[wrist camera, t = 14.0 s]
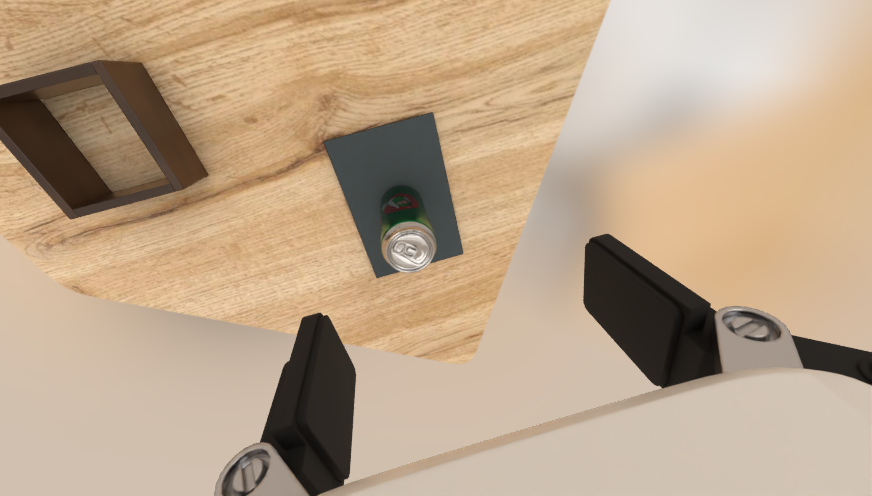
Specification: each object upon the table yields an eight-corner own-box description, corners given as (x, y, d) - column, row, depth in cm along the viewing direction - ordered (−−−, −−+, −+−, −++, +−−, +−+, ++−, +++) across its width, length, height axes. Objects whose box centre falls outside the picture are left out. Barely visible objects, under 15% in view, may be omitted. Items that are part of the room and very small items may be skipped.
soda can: (411, 229, 40) (423, 283, 29) (373, 214, 38) (371, 265, 28) (429, 194, 38) (449, 238, 28) (390, 176, 36) (395, 216, 26)
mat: (324, 141, 34) (323, 142, 34) (432, 112, 34) (433, 112, 34) (376, 275, 43) (376, 278, 42) (462, 251, 43) (463, 254, 43)
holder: (24, 92, 28) (-41, 95, 24) (141, 62, 29) (99, 59, 24) (110, 201, 34) (69, 219, 29) (209, 175, 34) (184, 189, 30)
